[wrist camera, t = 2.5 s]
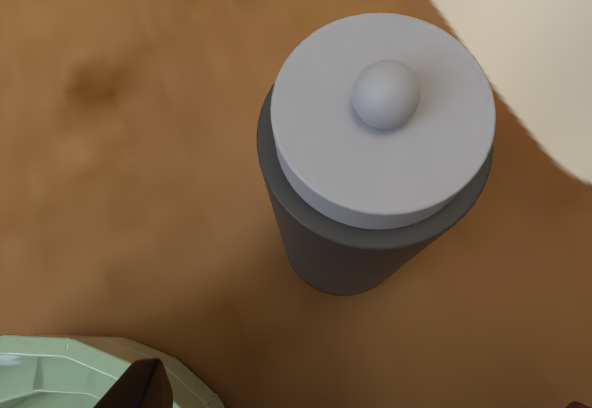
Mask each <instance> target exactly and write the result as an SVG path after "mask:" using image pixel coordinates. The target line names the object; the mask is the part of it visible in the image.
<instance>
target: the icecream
mask: <svg viewBox="0 0 592 408" xmlns="http://www.w3.org/2000/svg"><path fill="white" fill-rule="evenodd" d="M566 408H590V407H588V406H586V405H583V404H581V403H579V402H575V401H574V402H572V403H570V404H569V405H568V406H567V407H566Z"/></svg>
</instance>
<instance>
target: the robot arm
mask: <svg viewBox="0 0 592 408" xmlns="http://www.w3.org/2000/svg"><path fill="white" fill-rule="evenodd" d="M93 408H173V392H172V388H171V385H170V382H169V379H168V376H167V373H166V370H165V367H164V364H163V362H162V360H161V359H160V358H157V357H155V358H146V359H138V360H136V361H134V362H133V363H132V364H131V365H130V366H129V367H128V368H127V370H126V371H125V372H124V373H123V374H122V375H121V376H120V377H119V379H118V380H117V381H116V382H115V383H114V384H113V385H112V387H111V388H110V389H109V390H108V391H107V392H106V393H105V395H104V396H103V397H102V398H101V399H100V400H99V401H98V402H97V404H96V405H95V406H94V407H93Z"/></svg>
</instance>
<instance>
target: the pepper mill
mask: <svg viewBox="0 0 592 408" xmlns="http://www.w3.org/2000/svg"><path fill="white" fill-rule="evenodd" d="M495 124H496V113H495V103H494V98H493V93H492V90H491V87H490V84H489V81H488V79H487V77H486V75H485V73H484V71H483V69H482V68H481V66H480V65H479V63H478V62H477V60H476V59H475V57H474V56H473V55H472V54H471V53H470V52H469V51H468V49H467V48H466V47H465V46H463V45H462V44H461V43H460V42H459V41H458V40H457V39H456V38H454V37H453V36H451V35H450V34H448V33H447V32H445V31H444V30H442V29H440V28H438V27H436V26H435V25H433V24H430V23H428V22H425V21H423V20H420V19H417V18H413V17H410V16H406V15H400V14H394V13H365V14H359V15H353V16H349V17H346V18H342V19H339V20H337V21H334V22H332V23H330V24H327V25H325V26H324V27H322V28H320V29H318V30H317V31H315V32H314V33H312V34H311V35H309V36H308V37H307V38H305V39H304V40H303V41H302V42H301V43H300V44H299V45H298V46H297V47H296V48H295V49H294V50H293V52H292V53H291V54H290V55H289V57H288V58H287V59H286V61H285V63H284V64H283V66H282V68H281V70H280V72H279V74H278V76H277V79H276V81H275V82H274V84H273V86H272V87H271V89H270V91H269V92H268V94H267V96H266V99H265V101H264V103H263V106H262V109H261V113H260V116H259V120H258V128H257V151H258V157H259V163H260V166H261V170H262V173H263V176H264V180H265V183H266V186H267V190H268V193H269V196H270V200H271V203H272V207H273V210H274V213H275V217H276V220H277V223H278V227H279V230H280V233H281V237H282V240H283V244H284V247H285V250H286V253H287V257H288V259H289V261H290V263H291V265H292V267H293V268H294V270H295V271H296V273H297V274H298V275H299V276H300V277H301V278H302V279H303V280H304V281H305V282H306V283H308V284H309V285H311V286H312V287H314V288H316V289H318V290H319V291H322V292H325V293H328V294H333V295H342V296H344V295H354V294H359V293H362V292H365V291H367V290H369V289H372V288H373V287H375V286H376V285H378V284H379V283H381V282H382V281H383V280H384V279H386V278H387V277H388V276H390V275H391V274H392V273H393V272H395V271H396V270H397V269H399V268H400V267H401V266H402V265H404V264H405V263H406V262H408V261H409V260H410V259H411V258H413V257H414V256H415V255H417V254H418V253H419V252H420V251H422V250H423V249H424V248H426V247H427V246H428V245H429V244H431V243H432V242H433V241H434V240H436V239H437V238H438V237H440V236H441V235H442V234H443V233H445V232H446V231H447V230H449V229H450V228H451V227H452V226H454V225H455V224H456V223H457V222H458V221H459V220H460V219H461V218H463V217H464V216H465V215H466V213H467V212H468V211H469V210H470V209H471V207H472V206H473V205H474V204H475V202H476V200H477V199H478V197H479V196H480V194H481V192H482V190H483V188H484V186H485V183H486V181H487V179H488V175H489V171H490V167H491V163H492V154H493V138H494V134H495Z"/></svg>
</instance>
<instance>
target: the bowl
mask: <svg viewBox="0 0 592 408" xmlns="http://www.w3.org/2000/svg"><path fill="white" fill-rule="evenodd" d="M155 357H157V358H160V359H161V360H162V362H163V364H164V367H165V370H166V373H167V376H168V379H169V382H170V385H171V388H172V392H173V408H225V407H224V405H223V403H222V401H221V400H220V398H218V395H217V394H216V393H214V392H213V391H212V390H211V389H210V388H209V387H208V386H207V385H206V384H204V383H203V382H202V381H201V380H200V379H199V378H198V377H197V376H196V375H194V374H193V373H192V372H191V371H190V370H189V369H188V368H187V367H186V366H184V365H183V364H182V363H181V362H180V361H179V360H178V359H175V358H174V357H172V356H170V355H167V354H165V353H162V352H160V351H158V350H155V349H153V348H150V347H148V346H145V345H143V344H141V343H138V342H136V341H133V340H131V339H128V338H125V337H107V336H86V335H13V334H4V335H0V408H93V407H94V406H95V405H96V404H97V402H98V401H99V400H100V399H101V398H102V397H103V396H104V395H105V393H106V392H107V391H108V390H109V389H110V388H111V387H112V385H113V384H114V383H115V382H116V381H117V380H118V379H119V377H120V376H121V375H122V374H123V373H124V372H125V371H126V370H127V368H128V367H129V366H130V365H131V364H132V363H133V362H134V361H136V360H138V359H146V358H155Z"/></svg>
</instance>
